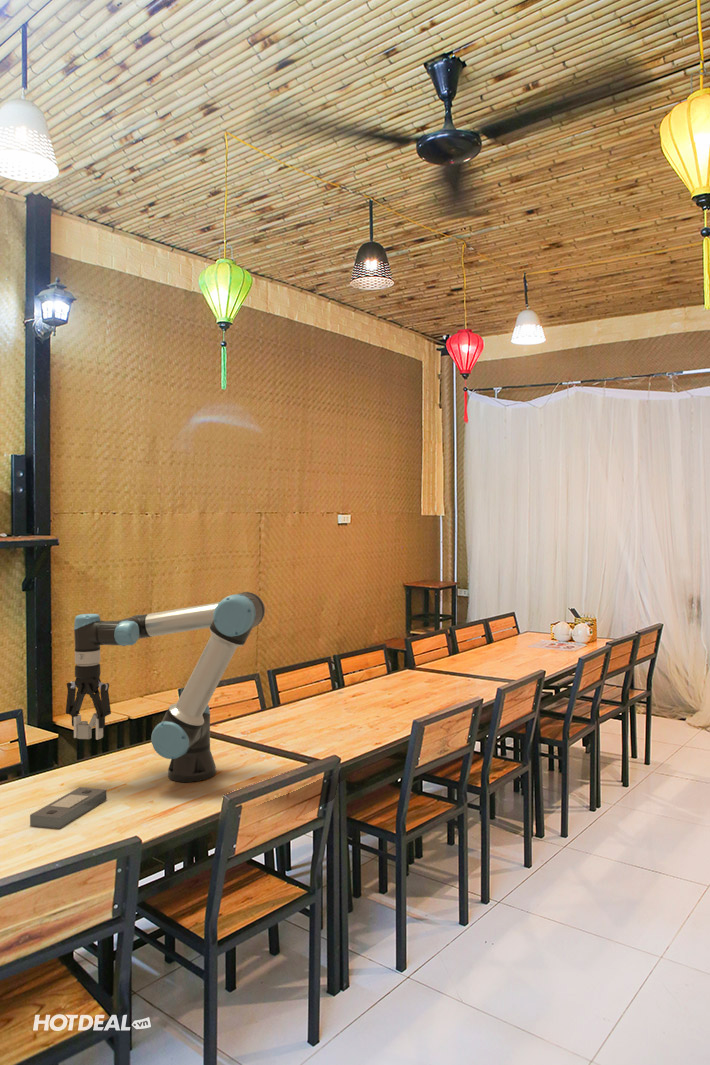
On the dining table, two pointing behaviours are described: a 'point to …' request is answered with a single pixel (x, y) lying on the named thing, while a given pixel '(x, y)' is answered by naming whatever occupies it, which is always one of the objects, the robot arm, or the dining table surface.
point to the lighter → (86, 728)
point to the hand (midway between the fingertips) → (88, 737)
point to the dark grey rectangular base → (68, 808)
